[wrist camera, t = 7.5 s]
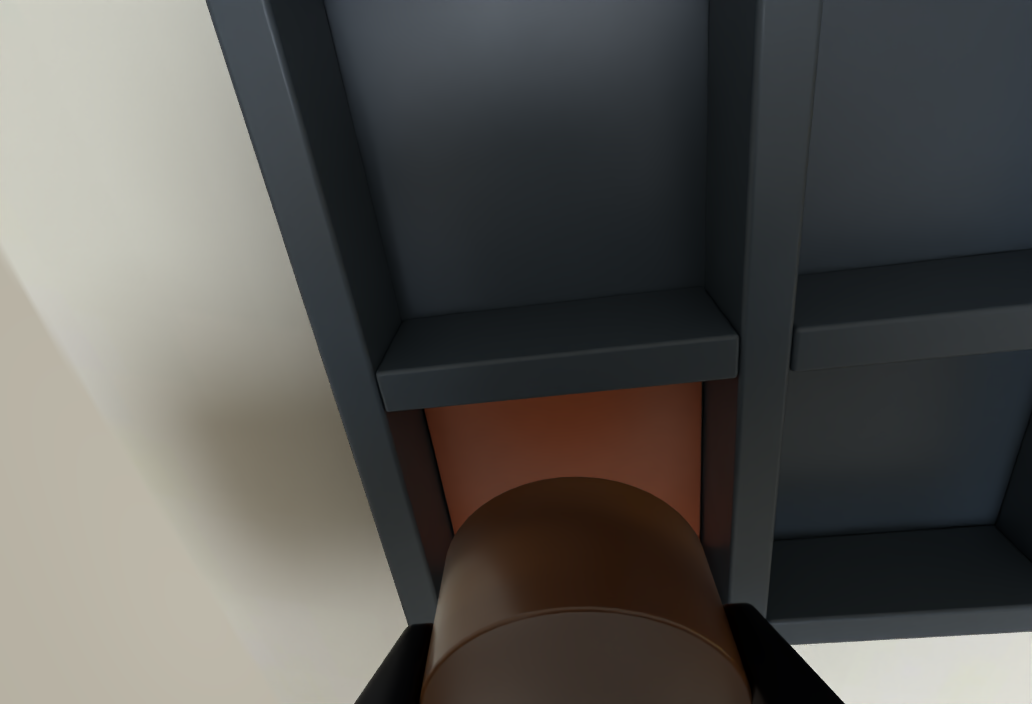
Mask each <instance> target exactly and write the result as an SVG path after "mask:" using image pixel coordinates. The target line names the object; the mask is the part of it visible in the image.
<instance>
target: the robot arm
mask: <svg viewBox="0 0 1032 704" xmlns="http://www.w3.org/2000/svg"><path fill="white" fill-rule="evenodd" d="M723 608H724V611H725V614H726V617H727V620H728V623H729V626H730V629H731V631H732V634H733V637H734V640H735V643H736V646H737V649H738V652H739V655H740V658H741V661H742V664H743V667H744V669H745V672H746V675H747V678H748V681H749V684H750V688H751V694H752V704H845V703H844V702H843V701H842V700H841V699H840V698H839V697H838V696H837V695H836V694H835V693H834V692H833V691H832V690H831V688H830V687H829V686H828V685H827V684H826V683H825V682H824V681H823V680H822V679H821V678H820V677H819V676H818V674H817V673H816V672H815V671H814V670H813V669H812V668H811V667H810V666H809V665H808V664H807V663H806V662H805V661H804V659H803V658H802V657H801V656H800V655H799V654H798V653H797V652H796V651H795V650H794V649H793V648H792V647H791V646H790V644H789V643H788V642H787V641H786V640H785V639H784V638H783V637H782V636H781V635H780V634H779V633H778V632H777V631H776V629H775V628H774V627H773V626H772V625H771V624H770V623H769V622H768V621H767V620H766V619H765V618H764V617H763V616H762V614H761V613H760V612H759V611H758V610H757V609H756V608H755V607H754V606H753V605H751V604H749V603H730V604H724V605H723ZM432 630H433V623H419V624H411V625H409V626H408V627H407V628H406V629H405V630H404V632H403V633H402V635H401V636H400V638H399V639H398V640H397V642H396V643H395V645H394V646H393V648H392V649H391V651H390V652H389V654H388V655H387V656H386V658H385V659H384V661H383V662H382V664H381V665H380V667H379V668H378V670H377V671H376V673H375V674H374V675H373V677H372V678H371V680H370V681H369V683H368V684H367V686H366V687H365V689H364V690H363V692H362V693H361V694H360V696H359V697H358V699H357V700H356V702H355V703H354V704H419V700H420V694H421V689H422V683H423V678H424V673H425V667H426V662H427V657H428V651H429V646H430V640H431V635H432Z"/></svg>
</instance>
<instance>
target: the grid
mask: <svg viewBox="0 0 1032 704" xmlns="http://www.w3.org/2000/svg"><path fill="white" fill-rule="evenodd" d="M206 3H207V6H208V9H209V12H210V15H211V19H212V22H213V25H214V28H215V31H216V34H217V37H218V40H219V43H220V46H221V49H222V52H223V56H224V59H225V62H226V65H227V68H228V71H229V74H230V77H231V80H232V83H233V86H234V89H235V93H236V96H237V99H238V102H239V105H240V108H241V111H242V114H243V117H244V120H245V123H246V126H247V130H248V133H249V136H250V139H251V142H252V145H253V148H254V151H255V154H256V157H257V160H258V163H259V167H260V170H261V173H262V176H263V179H264V182H265V185H266V188H267V191H268V194H269V197H270V200H271V204H272V207H273V210H274V213H275V216H276V219H277V222H278V225H279V228H280V231H281V234H282V237H283V241H284V244H285V247H286V250H287V253H288V256H289V259H290V262H291V265H292V268H293V271H294V274H295V278H296V281H297V284H298V287H299V290H300V293H301V296H302V299H303V302H304V305H305V308H306V311H307V315H308V318H309V321H310V324H311V327H312V330H313V333H314V336H315V339H316V342H317V345H318V348H319V352H320V355H321V358H322V361H323V364H324V367H325V370H326V373H327V376H328V379H329V382H330V385H331V389H332V392H333V395H334V398H335V401H336V404H337V407H338V410H339V413H340V416H341V419H342V422H343V426H344V429H345V432H346V435H347V438H348V441H349V444H350V447H351V450H352V453H353V456H354V459H355V462H356V466H357V469H358V472H359V475H360V478H361V481H362V484H363V487H364V490H365V493H366V496H367V499H368V503H369V506H370V509H371V512H372V515H373V518H374V521H375V524H376V527H377V530H378V533H379V536H380V540H381V543H382V546H383V549H384V552H385V555H386V558H387V561H388V564H389V567H390V570H391V573H392V577H393V580H394V583H395V586H396V589H397V592H398V595H399V598H400V601H401V604H402V607H403V610H404V614H405V617H406V620H407V623H408V626H409V625H411V624H419V623H433V624H434V619H435V614H436V608H437V603H438V597H439V592H440V587H441V581H442V576H443V571H444V565H445V560H446V555H447V551H448V549H449V546H450V543H451V541H452V539H453V538H454V536H455V534H456V532H457V531H458V529H459V528H460V527H461V526H462V524H463V523H464V522H465V521H466V520H467V518H468V517H469V516H470V515H471V514H473V513H474V512H475V511H476V510H477V509H478V508H479V507H481V506H482V505H483V504H485V503H486V502H488V501H489V500H491V499H492V498H494V497H496V496H498V495H500V494H502V493H504V492H506V491H508V490H510V489H513V488H516V487H518V486H521V485H524V484H527V483H531V482H535V481H539V480H544V479H551V478H559V477H593V478H602V479H608V480H613V481H618V482H621V483H625V484H628V485H632V486H635V487H637V488H639V489H642V490H644V491H647V492H649V493H651V494H653V495H654V496H656V497H658V498H660V499H661V500H663V501H665V502H666V503H667V504H669V505H670V506H671V507H672V508H674V509H675V510H676V511H678V512H679V513H680V514H681V515H682V517H683V518H684V519H685V520H686V521H687V522H688V523H689V524H690V525H691V527H692V528H693V530H694V531H695V533H696V534H697V536H698V538H699V540H700V542H701V544H702V547H703V549H704V552H705V555H706V558H707V561H708V564H709V567H710V570H711V573H712V576H713V579H714V582H715V585H716V588H717V590H718V593H719V596H720V599H721V602H722V605H724V604H730V603H749V604H751V605H753V606H754V607H755V608H756V609H757V610H758V611H759V612H760V613H761V614H762V616H763V617H764V618H765V619H766V620H767V621H768V622H769V623H770V624H771V625H772V626H773V627H774V628H775V629H776V631H777V632H778V633H779V634H780V635H781V636H782V637H783V638H784V639H785V640H786V641H787V642H788V643H789V644H790V645H801V644H819V643H837V642H854V641H872V640H890V639H908V638H926V637H944V636H961V635H979V634H997V633H1015V632H1032V0H206Z"/></svg>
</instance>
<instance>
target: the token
mask: <svg viewBox="0 0 1032 704" xmlns="http://www.w3.org/2000/svg"><path fill="white" fill-rule="evenodd" d="M419 704H752V694H751V688H750V684H749V681H748V678H747V675H746V672H745V669H744V667H743V664H742V661H741V658H740V655H739V652H738V649H737V646H736V643H735V640H734V637H733V634H732V631H731V629H730V626H729V623H728V620H727V617H726V614H725V611H724V608H723V605H722V602H721V599H720V596H719V593H718V590H717V588H716V585H715V582H714V579H713V576H712V573H711V570H710V567H709V564H708V561H707V558H706V555H705V552H704V549H703V547H702V544H701V542H700V540H699V538H698V536H697V534H696V533H695V531H694V530H693V528H692V527H691V525H690V524H689V523H688V522H687V521H686V520H685V519H684V518H683V517H682V515H681V514H680V513H679V512H678V511H676V510H675V509H674V508H672V507H671V506H670V505H669V504H667V503H666V502H665V501H663V500H661V499H660V498H658V497H656V496H654V495H653V494H651V493H649V492H647V491H644V490H642V489H639V488H637V487H635V486H632V485H628V484H625V483H621V482H618V481H613V480H608V479H602V478H593V477H559V478H551V479H544V480H539V481H535V482H531V483H527V484H524V485H521V486H518V487H516V488H513V489H510V490H508V491H506V492H504V493H502V494H500V495H498V496H496V497H494V498H492V499H491V500H489V501H488V502H486V503H485V504H483V505H482V506H481V507H479V508H478V509H477V510H476V511H475V512H474V513H473V514H471V515H470V516H469V517H468V518H467V520H466V521H465V522H464V523H463V524H462V526H461V527H460V528H459V529H458V531H457V532H456V534H455V536H454V538H453V539H452V541H451V543H450V546H449V549H448V551H447V555H446V560H445V565H444V571H443V576H442V581H441V587H440V592H439V597H438V603H437V608H436V614H435V619H434V624H433V630H432V635H431V640H430V646H429V651H428V657H427V662H426V667H425V673H424V678H423V683H422V689H421V694H420V700H419Z"/></svg>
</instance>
